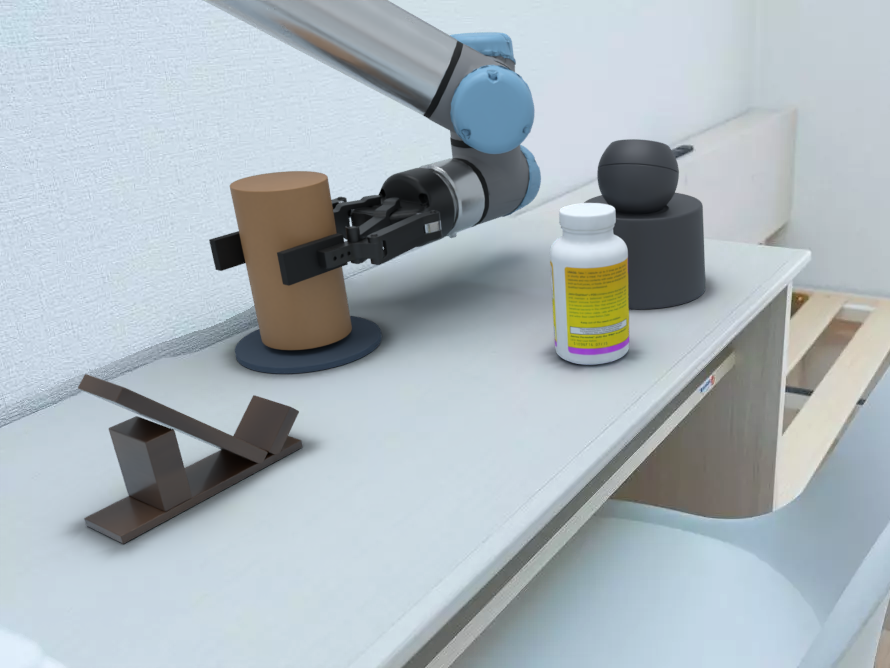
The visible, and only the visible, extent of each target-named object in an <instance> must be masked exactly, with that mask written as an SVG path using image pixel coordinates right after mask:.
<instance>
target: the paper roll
mask: <svg viewBox="0 0 890 668" xmlns="http://www.w3.org/2000/svg"><path fill="white" fill-rule="evenodd" d="M229 191H230V195H231V200H232V205H233V209H234V214H235V219H236V225H237V229H238V231H239V234H240V239H241V244H242V248H243V253H244V258H245V267H246V271H247V276H248V281H249V286H250V292H251V294H252V295H251V296H252V302H253V306H254V311H255V316H256V320H257V325H258V329H259V330H260V335H261V339H262V342H263V343H264V344H265V345H266V346H268V347H270V348H274V349H280V350H304V349H312V348H317V347H322V346H325V345H329V344H332V343H334V342H337V341H339V340H341V339H343V338H345V337H346V336H347V335H348V334H349V333H350V332H351V330H352V325H351V319H350V316H351V314H350V307H349V301H348V295H347V290H346V289H347V288H346V281H345V277H344V269H343V266H342V267H339V268H337V269H334V270H331V271H328V272H326V273H323V274H320V275H317V276H315V277H312V278H309V279H306V280H303V281H301V282H298V283H295V284H292V285H290V286H288V285H284V284H283V282H282V277H281V272H280V266H279V261H278V256H277V252H280V251H283V250H287V249H290V248H293V247H296V246H299V245H302V244H305V243H308V242H311V241H314V240H318V239H321V238H324V237H327V236H330V235H333V234H336V233H337V232H336V226H335V219H334V213H333V207H332V201H331V200H332V196H331V195H332V194H331V188H330V182H329V178H328V175H327V174H325V173H322V172H318V171H308V170H291V171H290V170H289V171H276V172H268V173H266V172H265V173H261V174H260V173H259V174H254V175H250V176H246V177H243V178H239V179H237V180H235V181H232V182H231V183H230V185H229Z"/></svg>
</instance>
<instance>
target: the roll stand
mask: <svg viewBox="0 0 890 668" xmlns="http://www.w3.org/2000/svg"><path fill="white" fill-rule="evenodd" d="M77 389H78V390H79V391H82V392H84V393H87V394H89V395H91V396H94V397H96V398H99V399H101V400H103V401H106V402H108V403H110V404H112V405H115V406H117V407H120V408H122V409H125V410H127V411H129V412H130V413H131V412H132V413H134V414H136V416H133V417H131V418H129V419H126V420H123V421H122V422H119V423H117V424H114V425H112V426H110V427H108V432H109V435H110V436H109V437H110V439H111V442H112V445H113V449H114V452H115V455H116V459H117V462H118V465H119V469H120V472H121V476H122V479H123V482H124V486H125V489H126V493H127V496H126V497H124V498H121V499H119V500H118V501H115V502H113V503H111V504H110V505H107V506H105V507H104V508H101V509H100V510H98V511H95V512H93V513H92V514H90V515H88V516H86V517H84V518H83V520H84V523H85V526H86V527H87V528H90V529H93V530H94V531H96V532H99V533H101V534H102V535H105V536H106V537H109V538H110V539H112V540H114V541H116V542H119V543H121V544H123V545H124V544H126V543H127V542H129V541H132V540H133V539H135V538H136V537H139V536H141V535H142V534H144V533H147V532H148V531H150V530H152V529H154V528H156V527H157V526H159V525H161V524H163V523H166V521H168V520H170V519H172V518H174V517H176V516H177V515H180V514H182V513H183V512H185V511H187V510H189V509H191V508H193V507H194V506H197V505H198V504H200V503H202V502H204V501H206V500H207V499H209V498H211V497H213V496H215V495H217V494H218V493H220V492H222V491H224V490H226V489H228V488H230V487H231V486H233V485H235V484H237V483H239V482H241V481H243V480H244V479H246V478H248V477H250V476H253V474H256V473H257V472H259V471H261V470H263V469H265V468H266V467H268V466H270V465H273V464H274V463H276V462H278V461H279V460H281V459H283V458H285V457H287V456H289V455H291V454H293V453H294V452H296V451H298V450H300V449H302V448H303V441H302V440H301V439H299V438H296V437H293V436H290V433H291V431H292V428H293V426H294V424H295V421H296V419H297V418H298V415H299V413H300V411H299V410H298V409H296V408H294V407H292V406H290V405H287V404H283V403H280V402H278V401H275V400H271V399H268V398H265V397H261V396H258V395H255V394H253V395H252V396H251V398H250V401H249V403H248V405H247V407H246V409H245V411H244V413H243V415H242V416H241V419H240V421H239V423H238V426H237V427H236V429H235V431H234V433H233V435H232V434H229V433H227V432H225V431H222V430H220V429H218V428H216V427H214V426H211V425H209V424H207V423H205V422H203V421H201V420H199V419H196V418H194V417H192V416H189V415H187V414H185V413H183V412H180V411H178V410H176V409H174V408H171V407H170V406H167V405H166V404H162V403H160V402H158V401H156V400H154V399H152V398H149V397H147V396H145V395H142V394H140V393H138V392H136V391H133V390H132V389H129V388H128V387H127V388H126V387H124V386H121V385H119V384H116V383H113V382H110V381H108V380H105V379H101V378H99V377H96V376H94V375H90V374H86V373H85V374H84V375H83V377H82V379H81V381H80V382H79V385H78V386H77ZM176 432H178V433H181V434H182V435H185V436H188V437H190V438H193V439H195V440H197V441H199V442H202V443H204V444H207V445H208V446H212V447H213V448H216V449H219V450H218V451H216V452H214V453H212V454H210V455H208V456H206V457H204V458H202V459H200V460H198V461H196V462H194V463H191V464H190V465H188V466H186V467H185V465H184V460H183V457H182V454H181V449H180V446H179V442H178V438H177V435H176Z"/></svg>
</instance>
